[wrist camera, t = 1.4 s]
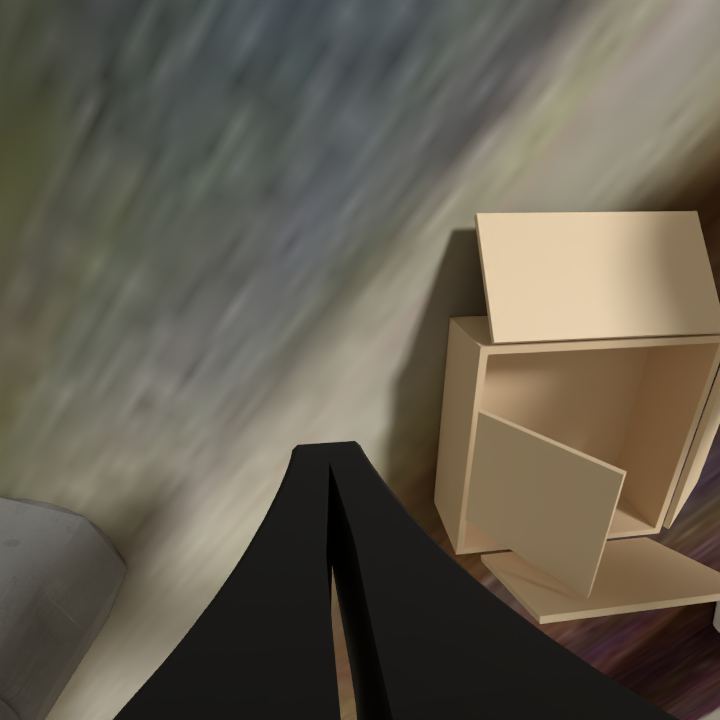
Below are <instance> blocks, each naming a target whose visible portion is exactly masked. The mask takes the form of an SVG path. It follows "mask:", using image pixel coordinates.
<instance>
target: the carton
mask: <svg viewBox="0 0 720 720" xmlns="http://www.w3.org/2000/svg"><path fill="white" fill-rule="evenodd" d="M719 363H720V333H715V334H695V335H674V336H653V337H632V338H611V339H590V340H569V341H548V342H527V343H506V344H492V343H491V336H490V328H489V321H488V316H469V317H450V323H449V334H448V346H447V357H446V368H445V380H444V391H443V403H442V414H441V426H440V437H439V449H438V460H437V472H436V483H435V495H434V503H435V505H436V507H437V510H438V512H439V515H440V517H441V520H442V522H443V524H444V527H445V529H446V532H447V534H448V536H449V539H450V541H451V544H452V546H453V549H454V551H455V553H456V555H458V554H467V553H477V552H486V551H495V550H505V549H509V548H507V547H506V546H504V545H503V544H501V543H500V542H498V541H496V540H495V539H493V538H492V537H490V536H489V535H487V534H486V533H484V532H482V531H481V530H479V529H478V528H476V527H475V526H473V525H472V524H470V523H469V522H467V521H465V516H466V508H467V500H468V492H469V483H470V475H471V467H472V459H473V451H474V443H475V435H476V427H477V419H478V412H479V411H480V410H484V411H487V412H489V413H491V414H494V415H496V416H498V417H501V418H503V419H505V420H508V421H510V422H512V423H515V424H517V425H519V426H522V427H524V428H526V429H529V430H531V431H533V432H536V433H538V434H540V435H543V436H545V437H547V438H550V439H552V440H554V441H557V442H559V443H561V444H564V445H566V446H568V447H571V448H573V449H575V450H578V451H580V452H582V453H585V454H587V455H589V456H592V457H594V458H596V459H599V460H601V461H603V462H606V463H608V464H610V465H613V466H615V467H617V468H620V469H622V470H624V471H627V472H626V476H625V479H624V482H623V486H622V489H621V492H620V496H619V499H618V503H617V506H616V509H615V513H614V516H613V520H612V523H611V526H610V530H609V533H608V536H607V539H608V538H617V537H626V536H636V535H645V534H654V533H659V532H660V529H661V526H662V524H663V521H664V518H665V515H666V512H667V509H668V507H669V504H670V501H671V498H672V495H673V493H674V490H675V487H676V484H677V481H678V478H679V476H680V473H681V470H682V467H683V464H684V462H685V459H686V456H687V453H688V450H689V448H690V445H691V442H692V439H693V436H694V433H695V431H696V428H697V425H698V422H699V419H700V417H701V414H702V411H703V408H704V405H705V402H706V400H707V397H708V394H709V391H710V388H711V386H712V383H713V380H714V377H715V374H716V372H717V369H718V366H719Z"/></svg>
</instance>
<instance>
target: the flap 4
mask: <svg viewBox="0 0 720 720" xmlns="http://www.w3.org/2000/svg"><path fill="white" fill-rule="evenodd" d="M719 423H720V368H719V371H718V374H717V376H716V379H715V382H714V385H713V388H712V390H711V393H710V396H709V399H708V402H707V404H706V407H705V410H704V413H703V416H702V418H701V421H700V424H699V427H698V430H697V432H696V435H695V438H694V441H693V444H692V446H691V449H690V452H689V455H688V458H687V460H686V463H685V466H684V469H683V472H682V474H681V477H680V480H679V483H678V486H677V488H676V491H675V494H674V497H673V500H672V502H671V505H670V508H669V511H668V514H667V516H666V519H665V522H664V525H663V526H664V527H666V528H668V529H669V528H670V526H671V525H672V523H673V521H674V520H675V518H676V516H677V515H678V513H679V511H680V510H681V508H682V506H683V505H684V503H685V501H686V500H687V498H688V496H689V495H690V493H691V492H692V490H693V488H694V487H695V485H696V483H697V481H698V479H699V476H700V473H701V471H702V468H703V465H704V463H705V460H706V457H707V455H708V452H709V449H710V447H711V444H712V442H713V439H714V436H715V434H716V431H717V428H718V426H719Z"/></svg>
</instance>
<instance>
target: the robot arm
mask: <svg viewBox="0 0 720 720" xmlns="http://www.w3.org/2000/svg"><path fill="white" fill-rule="evenodd" d="M332 567H333V573H334V578H335V584H336V590H337V595H338V601H339V607H340V612H341V618H342V623H343V629H344V635H345V640H346V646H347V652H348V657H349V663H350V668H351V674H352V681H353V688H354V695H355V702H356V712H357V720H679V719H677V718H675V717H674V716H672V715H671V714H669V713H667V712H666V711H664V710H662V709H661V708H659V707H657V706H656V705H654V704H652V703H651V702H649V701H647V700H646V699H644V698H642V697H641V696H639V695H638V694H636V693H634V692H633V691H631V690H629V689H628V688H626V687H624V686H623V685H621V684H619V683H618V682H616V681H614V680H613V679H611V678H609V677H608V676H606V675H605V674H603V673H602V672H600V671H599V670H597V669H595V668H594V667H592V666H591V665H589V664H588V663H587V662H585V661H584V660H582V659H581V658H579V657H578V656H576V655H575V654H573V653H572V652H570V651H569V650H567V649H566V648H565V647H563V646H562V645H560V644H559V643H557V642H556V641H554V640H553V639H551V638H550V637H549V636H547V635H546V634H544V633H543V632H542V631H541V630H539V629H538V628H537V627H535V626H534V625H533V624H531V623H530V622H529V621H527V620H526V619H525V618H524V617H522V616H521V615H520V614H518V613H517V612H516V611H514V610H513V609H512V608H510V607H509V606H508V605H507V604H505V603H504V602H503V601H501V600H500V599H499V598H497V597H496V596H495V595H494V594H493V593H491V592H490V591H489V590H488V589H487V588H486V587H484V586H483V585H482V584H481V583H480V582H479V581H477V580H476V579H475V578H474V577H473V576H472V575H470V574H469V573H468V572H467V571H466V570H465V569H464V568H463V567H462V566H461V565H460V564H458V563H457V562H456V561H455V560H454V559H453V558H452V557H451V556H450V555H449V554H448V553H447V552H446V551H445V550H444V549H443V548H442V547H441V546H440V545H439V544H438V543H437V542H436V541H435V540H434V539H433V538H432V537H431V536H430V535H429V534H428V533H427V532H426V531H425V530H424V529H423V527H422V526H421V525H420V524H419V523H418V522H417V521H416V520H415V519H414V518H413V516H412V515H411V514H410V513H409V512H408V511H407V510H406V508H405V507H404V506H403V505H402V504H401V502H400V501H399V500H398V499H397V497H396V496H395V495H394V494H393V492H392V491H391V490H390V489H389V487H388V486H387V485H386V484H385V482H384V481H383V480H382V478H381V477H380V475H379V474H378V473H377V471H376V470H375V468H374V467H373V465H372V464H371V463H370V461H369V459H368V458H367V456H366V455H365V453H364V452H363V450H362V448H361V446H360V445H359V444H358V443H357V442H356V441H348V442H334V443H319V444H304V445H297V446H296V447H295V448H294V449H293V450H292V455H291V459H290V462H289V465H288V468H287V471H286V473H285V476H284V478H283V481H282V483H281V485H280V488H279V490H278V492H277V494H276V496H275V498H274V500H273V502H272V504H271V506H270V508H269V510H268V512H267V514H266V516H265V518H264V520H263V522H262V523H261V525H260V527H259V529H258V530H257V532H256V534H255V536H254V537H253V539H252V541H251V542H250V544H249V546H248V548H247V549H246V551H245V553H244V554H243V556H242V557H241V559H240V561H239V562H238V564H237V565H236V567H235V568H234V570H233V571H232V573H231V574H230V576H229V577H228V579H227V580H226V582H225V583H224V585H223V586H222V587H221V589H220V590H219V592H218V593H217V595H216V596H215V597H214V599H213V600H212V601H211V603H210V604H209V605H208V607H207V608H206V609H205V611H204V612H203V613H202V615H201V616H200V617H199V618H198V620H197V621H196V622H195V624H194V625H193V626H192V628H191V629H190V630H189V632H188V633H187V634H186V635H185V637H184V638H183V639H182V640H181V642H180V643H179V644H178V645H177V647H176V648H175V649H174V650H173V652H172V653H171V654H170V655H169V656H168V658H167V659H166V660H165V661H164V662H163V663H162V665H161V666H160V667H159V668H158V669H157V670H156V671H155V672H154V674H153V675H152V676H151V677H150V678H149V679H148V680H147V682H146V683H145V684H144V685H143V686H142V687H141V688H140V689H139V691H138V692H137V693H136V694H135V695H134V696H133V697H132V698H131V700H130V701H129V702H128V703H127V704H126V705H125V706H124V707H123V709H122V710H121V711H120V712H119V713H118V714H117V715H116V716H115V718H114V719H113V720H341V718H340V707H339V696H338V686H337V675H336V664H335V653H334V642H333V631H332V620H331V592H332Z"/></svg>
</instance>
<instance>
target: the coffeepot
mask: <svg viewBox="0 0 720 720" xmlns="http://www.w3.org/2000/svg"><path fill="white" fill-rule="evenodd" d="M126 570H127V567H126V566H125V564H124V562H123V560H122V559H121V557H120V555H119V553H118V552H117V550H116V548H115V547H114V545H113V544H112V542H111V541H110V539H109V538H108V537H107V536H106V535H105V534H104V533H103V532H102V531H101V530H100V529H99V528H98V527H96V526H95V525H93V524H92V523H91V522H89V521H88V520H87V519H86V518H85V517H83V516H80V515H78V514H76V513H74V512H71V511H69V510H67V509H64V508H61V507H58V506H55V505H52V504H48V503H44V502H39V501H33V500H27V499H5V498H0V720H45V718H46V716H47V715H48V713H49V712H50V710H51V708H52V707H53V705H54V704H55V702H56V700H57V699H58V697H59V696H60V694H61V692H62V691H63V689H64V688H65V686H66V684H67V683H68V681H69V680H70V678H71V676H72V675H73V673H74V672H75V670H76V668H77V667H78V665H79V664H80V662H81V660H82V659H83V657H84V655H85V654H86V652H87V651H88V649H89V647H90V646H91V644H92V643H93V641H94V639H95V638H96V636H97V635H98V633H99V631H100V630H101V628H102V627H103V625H104V623H105V622H106V620H107V619H108V617H109V614H110V612H111V609H112V607H113V604H114V601H115V599H116V596H117V594H118V591H119V588H120V586H121V583H122V581H123V578H124V576H125V573H126Z"/></svg>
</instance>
